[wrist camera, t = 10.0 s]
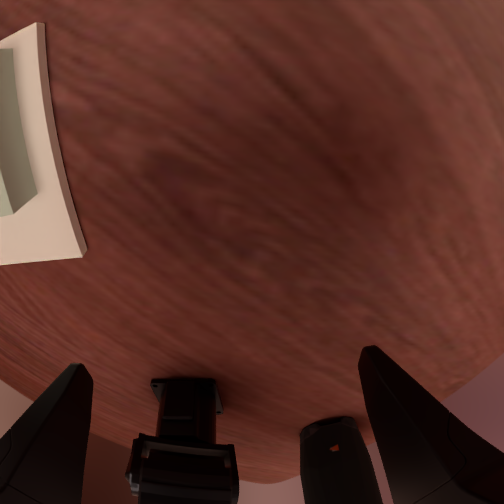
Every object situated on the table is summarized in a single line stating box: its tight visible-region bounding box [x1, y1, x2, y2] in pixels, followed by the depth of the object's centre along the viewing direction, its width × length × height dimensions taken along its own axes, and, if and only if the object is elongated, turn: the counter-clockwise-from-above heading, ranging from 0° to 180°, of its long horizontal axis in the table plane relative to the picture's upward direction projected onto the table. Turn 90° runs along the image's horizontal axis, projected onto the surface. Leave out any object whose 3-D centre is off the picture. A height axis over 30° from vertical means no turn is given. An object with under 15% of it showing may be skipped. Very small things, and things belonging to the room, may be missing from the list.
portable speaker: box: [300, 417, 383, 504], centre depth 28 cm, size 9×9×20 cm
